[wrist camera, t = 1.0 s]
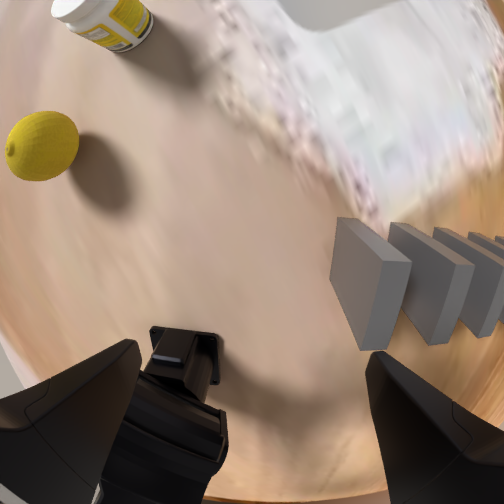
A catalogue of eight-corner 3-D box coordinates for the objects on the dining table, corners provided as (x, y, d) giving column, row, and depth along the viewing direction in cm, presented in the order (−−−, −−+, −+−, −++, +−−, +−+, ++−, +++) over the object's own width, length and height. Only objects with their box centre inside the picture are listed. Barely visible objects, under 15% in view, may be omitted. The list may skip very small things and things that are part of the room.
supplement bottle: (142, 1, 14) (95, -43, 6) (163, 28, 15) (115, -20, 7) (99, 34, 15) (42, 5, 7) (116, 63, 16) (53, 34, 8)
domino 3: (447, 228, 19) (516, 267, 10) (435, 281, 21) (490, 335, 12) (434, 226, 19) (503, 266, 11) (422, 281, 21) (477, 338, 12)
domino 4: (479, 233, 19) (542, 268, 10) (467, 281, 20) (520, 328, 12) (468, 231, 19) (534, 268, 10) (456, 281, 20) (511, 331, 12)
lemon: (58, 182, 20) (-6, 198, 12) (51, 127, 18) (-12, 128, 10) (100, 164, 19) (33, 174, 12) (93, 104, 17) (27, 94, 10)
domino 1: (357, 218, 19) (412, 262, 11) (348, 279, 21) (386, 349, 13) (337, 217, 19) (383, 260, 11) (329, 278, 21) (359, 350, 13)
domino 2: (407, 223, 19) (475, 265, 11) (396, 281, 21) (447, 343, 12) (390, 221, 19) (456, 264, 11) (379, 280, 21) (428, 345, 12)
